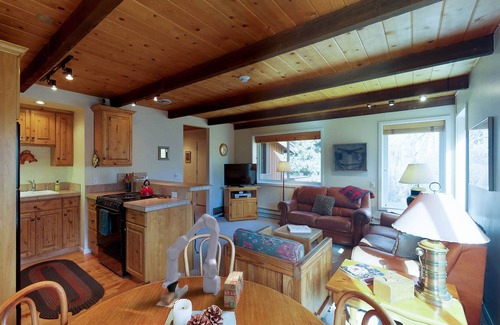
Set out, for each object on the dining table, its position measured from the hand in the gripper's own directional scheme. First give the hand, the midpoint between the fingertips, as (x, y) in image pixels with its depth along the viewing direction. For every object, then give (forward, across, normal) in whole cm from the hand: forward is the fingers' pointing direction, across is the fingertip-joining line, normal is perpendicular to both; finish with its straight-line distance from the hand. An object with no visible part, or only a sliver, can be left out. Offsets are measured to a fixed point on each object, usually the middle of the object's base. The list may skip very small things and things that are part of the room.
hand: (171, 295), depth 122 cm
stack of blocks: (+3, -12, +32) cm, 34 cm away
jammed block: (+1, +4, 0) cm, 4 cm away
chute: (+2, -2, 0) cm, 3 cm away
